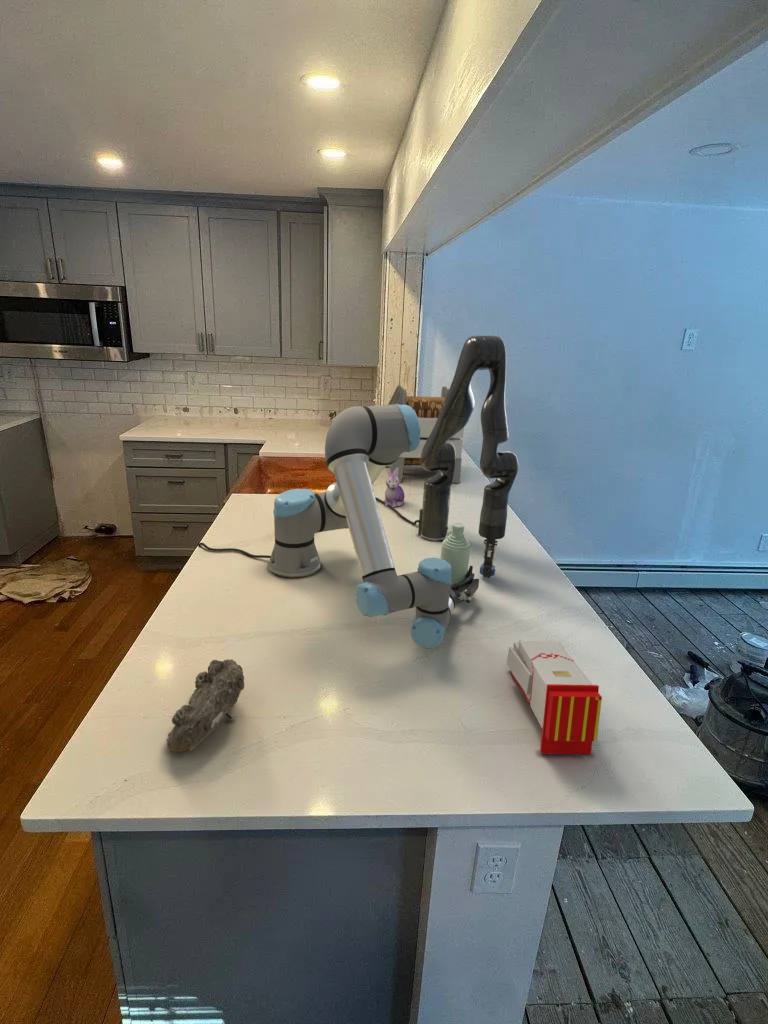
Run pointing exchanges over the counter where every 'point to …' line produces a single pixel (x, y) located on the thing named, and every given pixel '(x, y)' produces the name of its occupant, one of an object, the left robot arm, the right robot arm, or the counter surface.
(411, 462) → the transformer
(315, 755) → the counter surface
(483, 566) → the cap
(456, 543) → the bottle
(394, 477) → the figurine
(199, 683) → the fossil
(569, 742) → the toy
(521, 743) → the counter surface
